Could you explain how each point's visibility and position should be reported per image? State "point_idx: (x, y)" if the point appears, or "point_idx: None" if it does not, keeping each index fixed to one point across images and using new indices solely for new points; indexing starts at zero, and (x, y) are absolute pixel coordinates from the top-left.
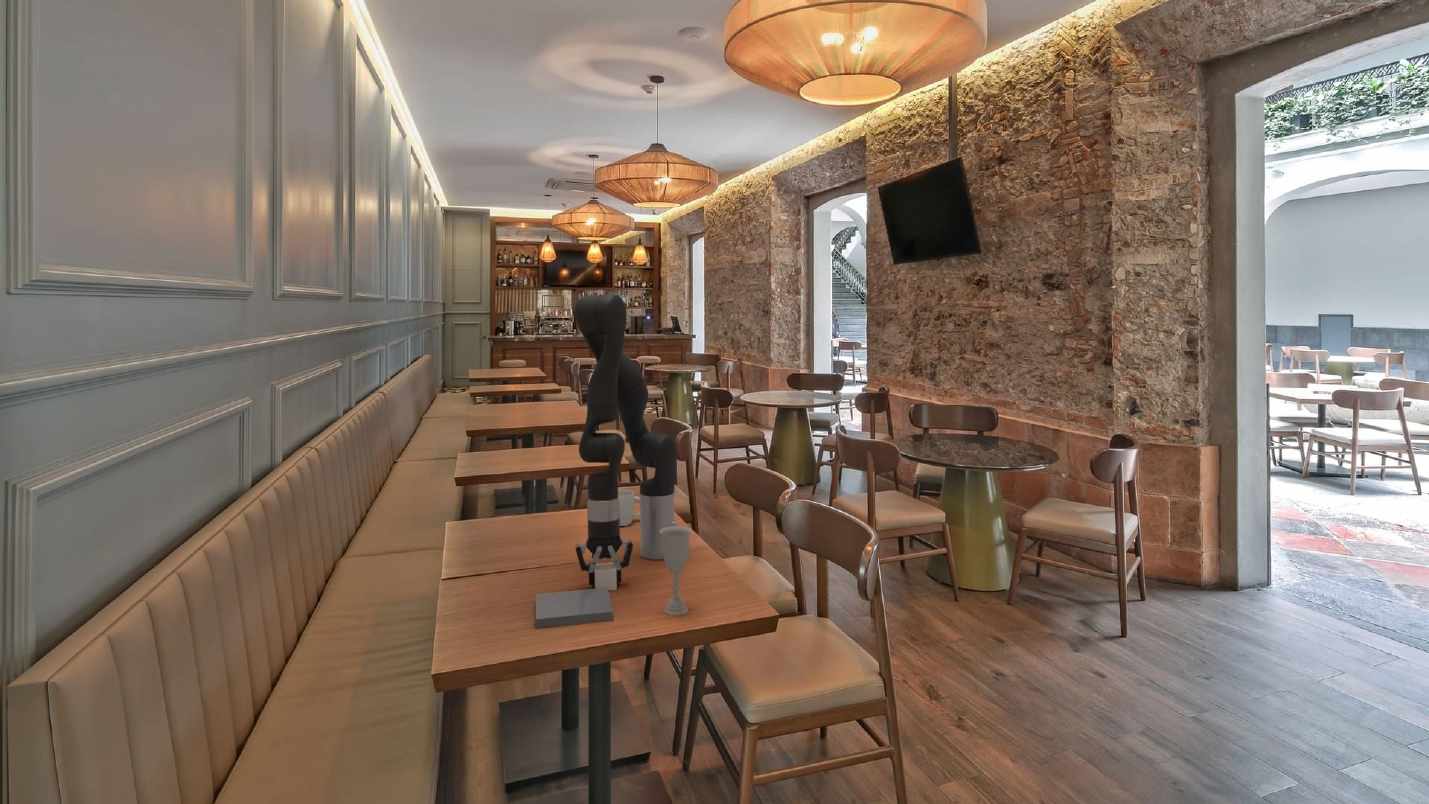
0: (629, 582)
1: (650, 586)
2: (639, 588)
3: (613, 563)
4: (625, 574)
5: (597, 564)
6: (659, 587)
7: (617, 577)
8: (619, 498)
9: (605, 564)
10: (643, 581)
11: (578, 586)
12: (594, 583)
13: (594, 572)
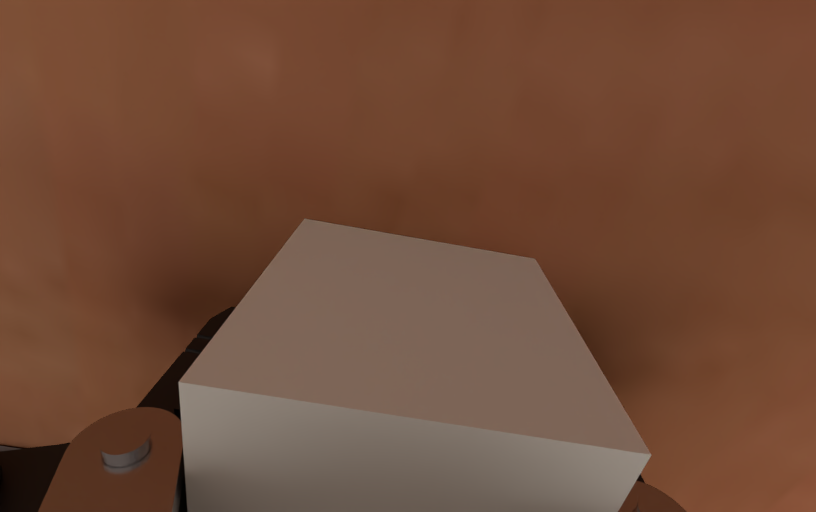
0: (668, 326)
1: (767, 470)
2: (662, 471)
3: (603, 496)
4: (794, 51)
5: (268, 432)
6: (812, 508)
7: None
8: None
9: (431, 486)
10: (803, 356)
11: (128, 217)
12: None
13: None
